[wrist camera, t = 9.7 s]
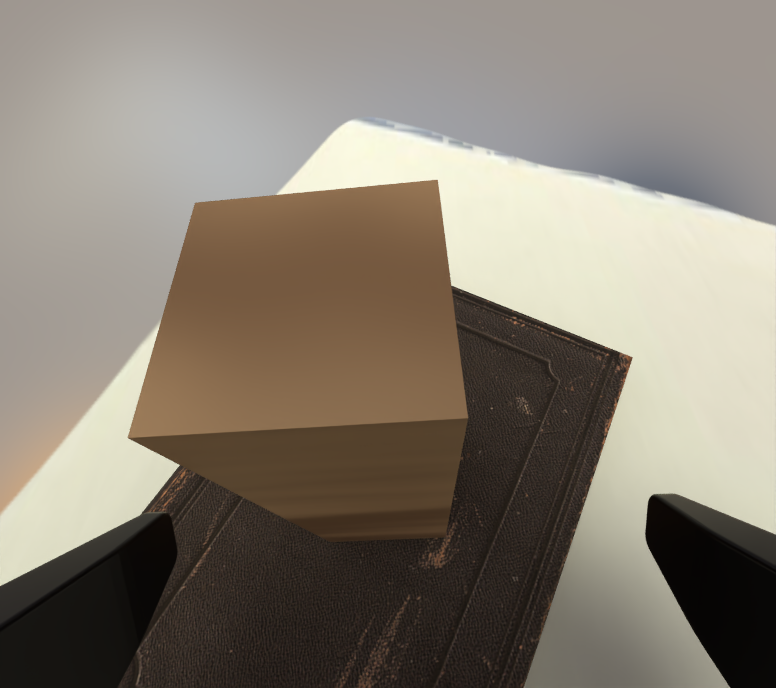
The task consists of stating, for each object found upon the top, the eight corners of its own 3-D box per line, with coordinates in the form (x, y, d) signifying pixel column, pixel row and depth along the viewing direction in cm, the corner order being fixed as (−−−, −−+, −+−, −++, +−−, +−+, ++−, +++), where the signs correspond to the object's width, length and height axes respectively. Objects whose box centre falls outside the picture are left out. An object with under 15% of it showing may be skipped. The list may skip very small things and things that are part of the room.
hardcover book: (614, 378, 22) (633, 356, 20) (398, 1003, 13) (395, 1077, 11) (353, 270, 27) (348, 244, 25) (50, 663, 17) (3, 671, 15)
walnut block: (445, 537, 17) (467, 418, 5) (330, 542, 17) (127, 437, 6) (435, 425, 19) (437, 180, 8) (334, 431, 19) (195, 202, 8)
